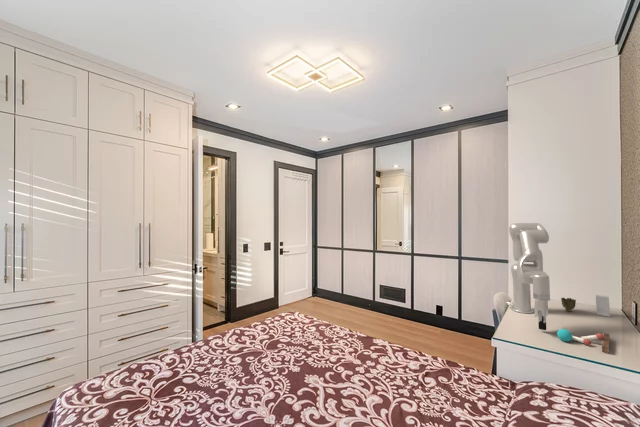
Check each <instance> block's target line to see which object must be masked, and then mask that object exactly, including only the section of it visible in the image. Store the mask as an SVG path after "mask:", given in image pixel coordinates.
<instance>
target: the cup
mask: <svg viewBox="0 0 640 427" xmlns="http://www.w3.org/2000/svg"><path fill="white" fill-rule="evenodd" d="M560 300H561V305H562V307H563V308H564V310H565V311H566V312H570V313H571V312H573V310H574V309H575V307H576V303H577V300H576V299H574V298H571V297H567V298H565V297H561V298H560Z"/></svg>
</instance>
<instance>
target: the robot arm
mask: <svg viewBox="0 0 640 427" xmlns="http://www.w3.org/2000/svg"><path fill="white" fill-rule="evenodd" d="M508 232H509V235H510V237H511V240H512V256H513V260H514V261H516V262H517V263H514V264H512V265H511V266H510V271H511V277H512V287H513V288H512V289H513V291H512V292H513V301H511V302H510V301H506V305H507V306H509V307H510V306H511V307H510V308H511V311H514V312H517V313H521V314H533V313H534V317H535V318H537V317H538V329H539V330H542V331H547V317H548V315H549V301H551V290H550V287H551V286H550V276H549V275H548V274H547V272H545V271H544V261H543V260H544V258H543V252H542V250H541V249H540V247H539V244H548V243H549V241H550V236H549V235H550V234H549V233H548V231H547V229H546V228H545V227H544V226H543V225H542V224H541V223H538V222H517V223H512V224H510V225H509V227H508ZM531 285H532V293H531ZM531 294H532V295H531ZM531 296H532V298H533V299H534V308H532V298H531Z"/></svg>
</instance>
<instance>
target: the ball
mask: <svg viewBox="0 0 640 427" xmlns="http://www.w3.org/2000/svg"><path fill="white" fill-rule="evenodd" d="M556 336H557V337H558V338H559V339H560V340H561V341H563V342H571V341H572V336H573V334H572V332H571V331H570V330H568V329H565V328H560V329H558V330H557V331H556Z"/></svg>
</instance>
